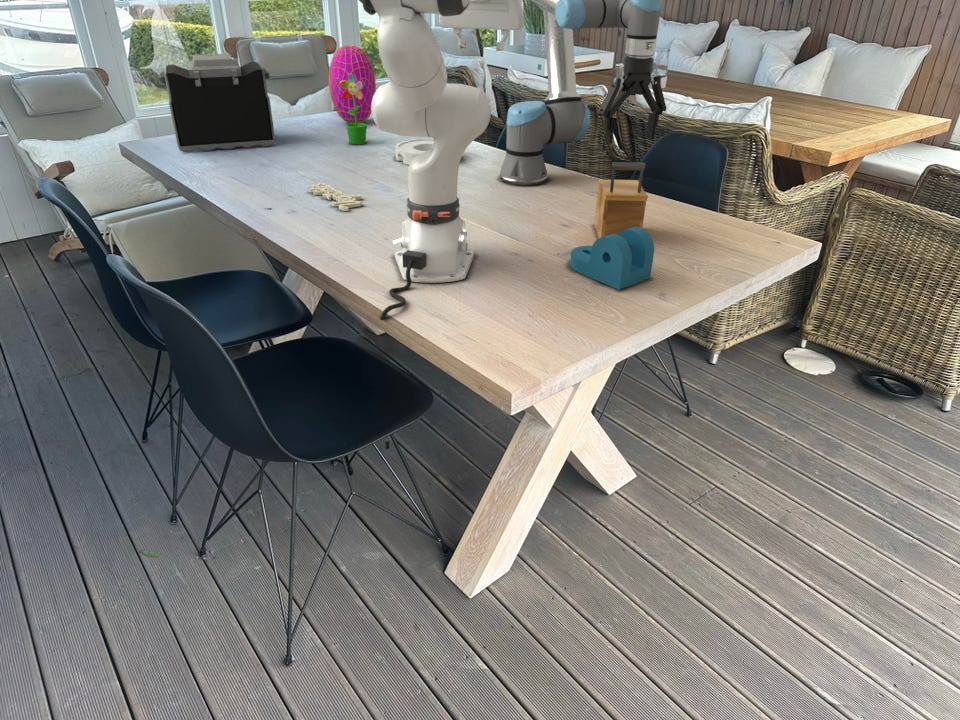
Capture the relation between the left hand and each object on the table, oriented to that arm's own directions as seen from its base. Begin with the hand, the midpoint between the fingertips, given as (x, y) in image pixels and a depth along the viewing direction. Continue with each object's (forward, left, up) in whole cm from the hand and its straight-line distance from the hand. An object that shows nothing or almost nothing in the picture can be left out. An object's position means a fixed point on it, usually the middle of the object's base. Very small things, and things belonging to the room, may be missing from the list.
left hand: (480, 49), depth 165 cm
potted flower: (+90, +42, -43) cm, 108 cm away
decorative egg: (+127, +47, -43) cm, 142 cm away
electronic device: (+90, +91, -43) cm, 135 cm away
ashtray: (+67, +15, -43) cm, 81 cm away
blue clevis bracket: (-35, -27, -43) cm, 62 cm away
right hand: (+10, -42, -24) cm, 49 cm away
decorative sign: (+22, +41, -43) cm, 63 cm away
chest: (-11, -35, -43) cm, 57 cm away
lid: (-11, -35, -31) cm, 49 cm away
